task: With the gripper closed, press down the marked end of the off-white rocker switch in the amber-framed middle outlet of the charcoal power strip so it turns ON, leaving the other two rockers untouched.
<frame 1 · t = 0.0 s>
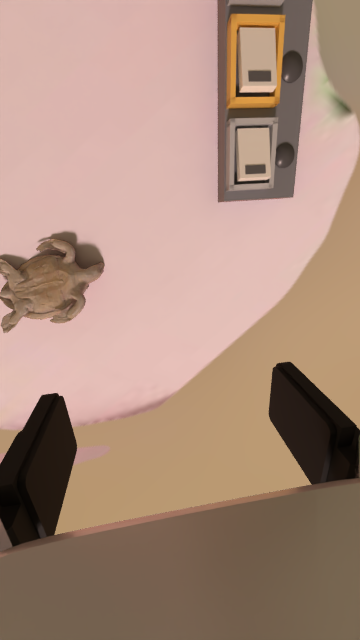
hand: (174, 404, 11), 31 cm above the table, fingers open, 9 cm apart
rocker middle: (257, 60, 29), point 5 cm above the table, hinge at -14.0°
power strip: (255, 80, 33), on the table
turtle: (48, 277, 39), on the table
rocker 1: (253, 154, 32), point 5 cm above the table, hinge at -14.0°
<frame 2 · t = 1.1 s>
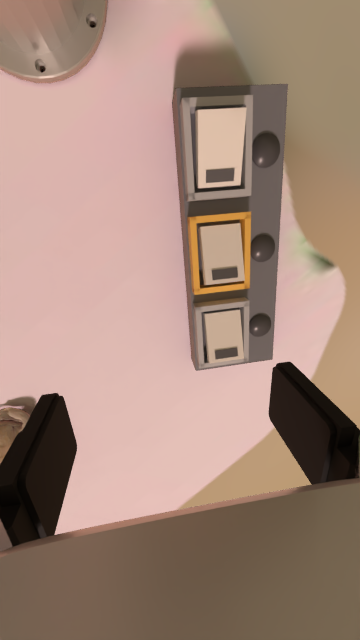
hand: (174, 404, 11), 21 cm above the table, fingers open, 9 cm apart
rocker middle: (221, 254, 26), point 5 cm above the table, hinge at -14.0°
power strip: (225, 248, 30), on the table
rocker 2: (219, 150, 23), point 5 cm above the table, hinge at 14.0°
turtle: (8, 437, 36), on the table
rocker 1: (223, 336, 29), point 5 cm above the table, hinge at -14.0°
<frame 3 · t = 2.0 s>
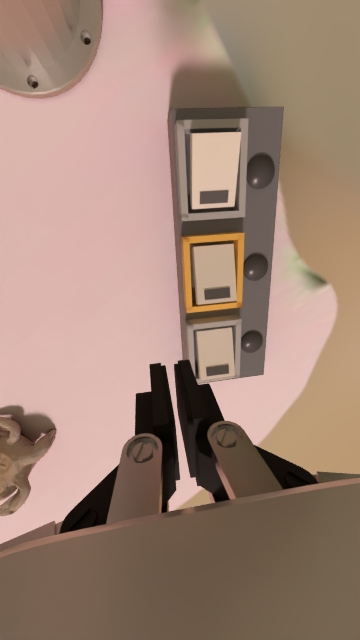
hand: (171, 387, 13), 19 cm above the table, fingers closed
rocker middle: (214, 274, 26), point 5 cm above the table, hinge at -14.0°
power strip: (219, 265, 30), on the table
rocker 2: (213, 172, 22), point 5 cm above the table, hinge at 14.0°
rocker 1: (215, 353, 29), point 5 cm above the table, hinge at -14.0°
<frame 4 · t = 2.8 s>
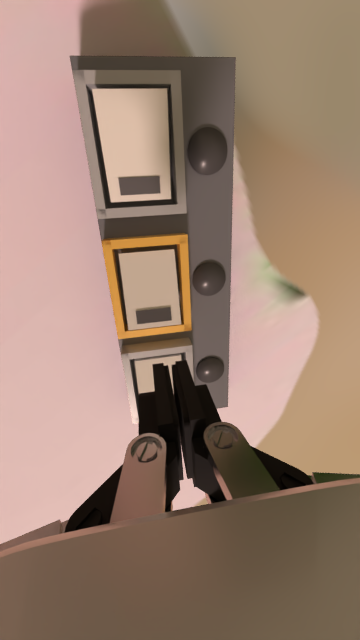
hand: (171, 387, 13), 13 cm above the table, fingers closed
rocker middle: (150, 290, 20), point 5 cm above the table, hinge at -14.0°
power strip: (167, 274, 24), on the table
rocker 2: (136, 150, 16), point 5 cm above the table, hinge at 14.0°
rocker 1: (161, 386, 23), point 5 cm above the table, hinge at -14.0°
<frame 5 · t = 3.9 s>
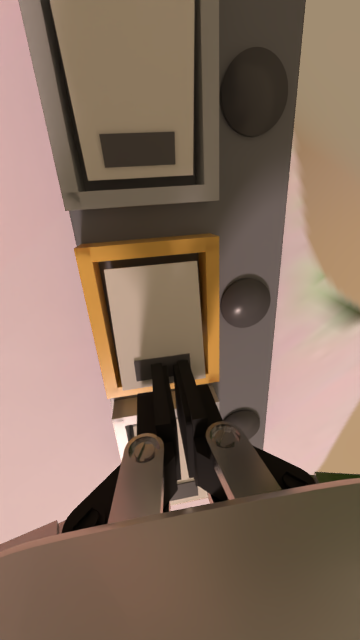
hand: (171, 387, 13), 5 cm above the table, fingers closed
rocker middle: (158, 325, 12), point 5 cm above the table, hinge at -10.5°, touching gripper
power strip: (180, 293, 16), on the table
rocker 2: (131, 79, 9), point 5 cm above the table, hinge at 14.0°
rocker 1: (172, 458, 16), point 5 cm above the table, hinge at -14.0°
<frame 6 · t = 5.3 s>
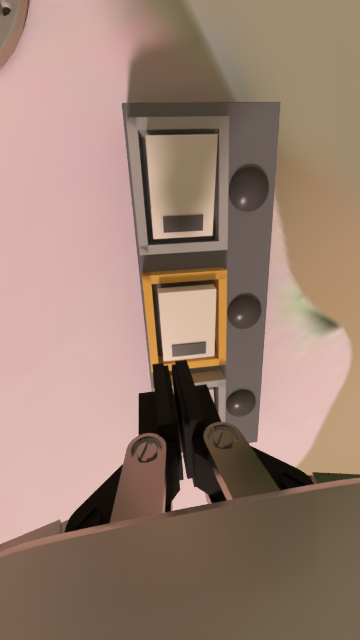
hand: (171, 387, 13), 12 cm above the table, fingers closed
rocker middle: (187, 324, 19), point 5 cm above the table, hinge at 6.9°
power strip: (199, 305, 24), on the table
rocker 2: (181, 190, 16), point 5 cm above the table, hinge at 14.0°
rocker 1: (191, 421, 22), point 5 cm above the table, hinge at -14.0°
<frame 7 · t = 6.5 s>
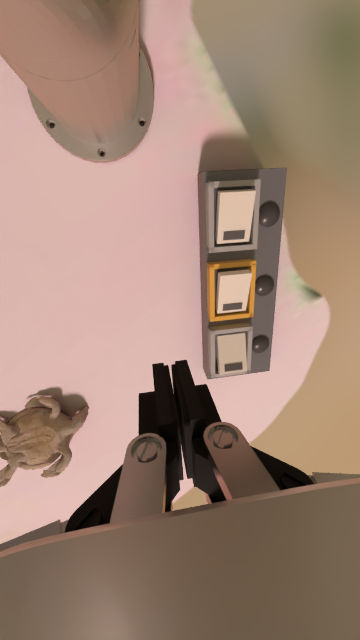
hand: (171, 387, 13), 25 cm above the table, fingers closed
rocker middle: (232, 292, 33), point 5 cm above the table, hinge at 15.1°
power strip: (234, 282, 38), on the table
rocker 2: (234, 217, 30), point 5 cm above the table, hinge at 14.0°
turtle: (38, 421, 42), on the table
rocker 1: (231, 353, 37), point 5 cm above the table, hinge at -14.0°
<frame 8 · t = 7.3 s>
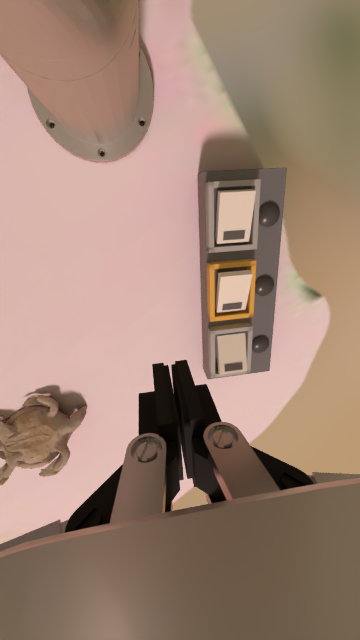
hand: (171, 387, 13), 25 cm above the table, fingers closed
rocker middle: (232, 292, 33), point 5 cm above the table, hinge at 19.0°
power strip: (234, 282, 38), on the table
rocker 2: (234, 217, 30), point 5 cm above the table, hinge at 14.0°
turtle: (36, 420, 42), on the table
rocker 1: (231, 353, 37), point 5 cm above the table, hinge at -14.0°
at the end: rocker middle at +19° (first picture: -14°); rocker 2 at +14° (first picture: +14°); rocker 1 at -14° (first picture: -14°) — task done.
